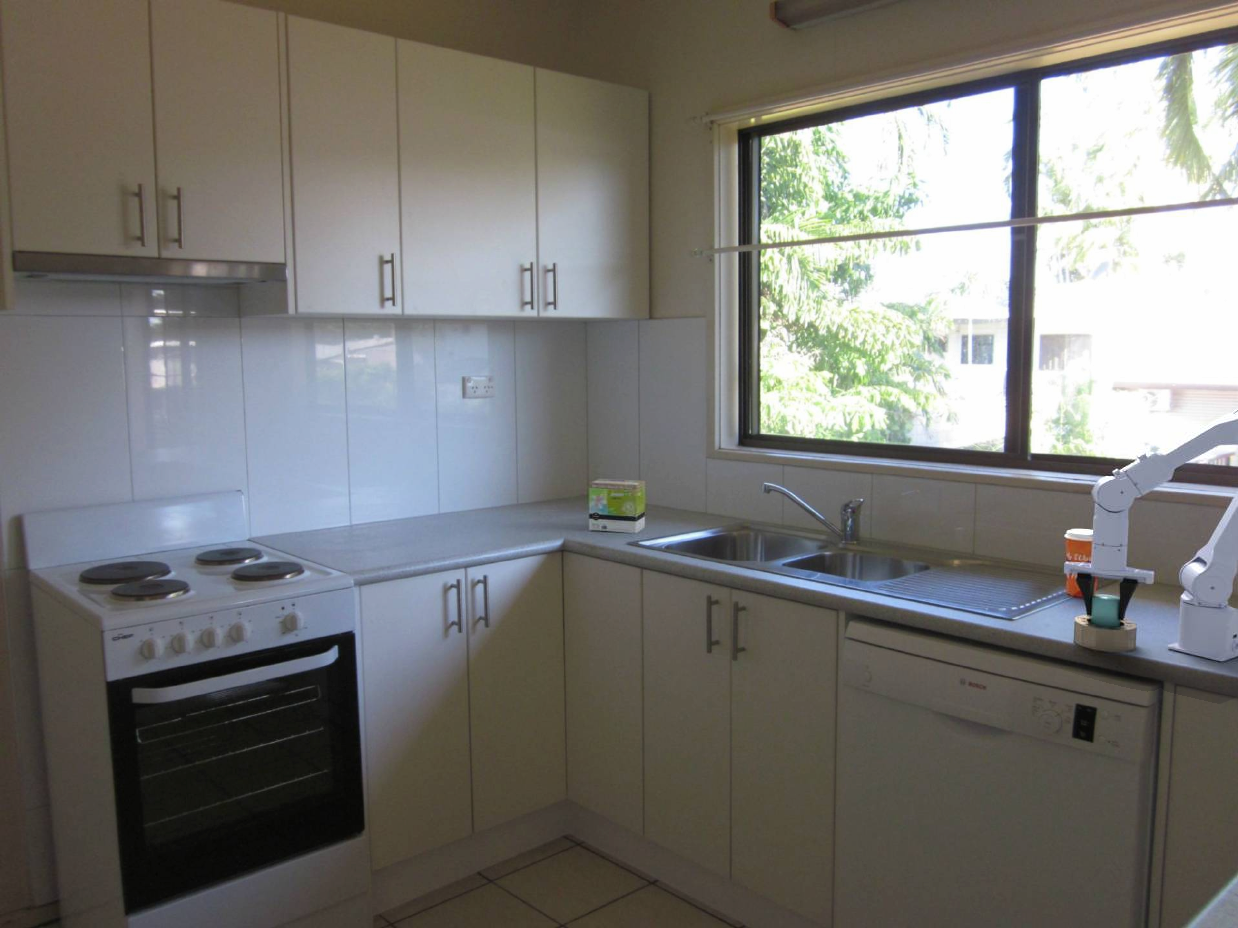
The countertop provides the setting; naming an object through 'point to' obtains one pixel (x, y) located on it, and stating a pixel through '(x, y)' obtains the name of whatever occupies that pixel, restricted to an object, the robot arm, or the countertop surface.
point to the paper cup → (1078, 555)
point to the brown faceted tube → (1105, 635)
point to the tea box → (617, 505)
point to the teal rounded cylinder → (1105, 610)
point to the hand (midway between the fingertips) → (1105, 616)
